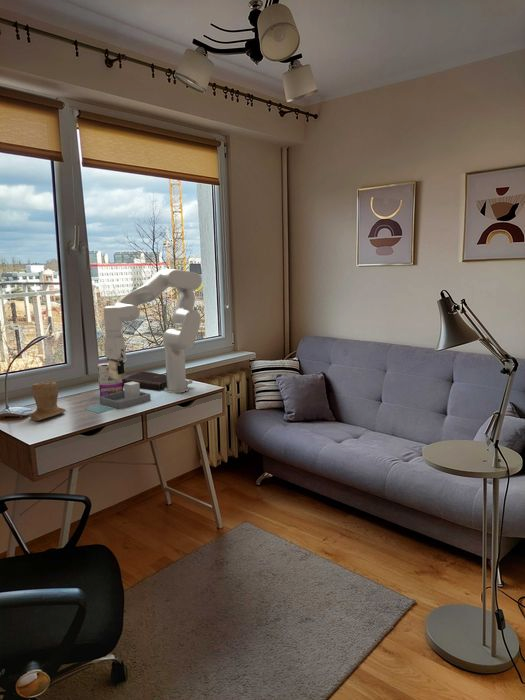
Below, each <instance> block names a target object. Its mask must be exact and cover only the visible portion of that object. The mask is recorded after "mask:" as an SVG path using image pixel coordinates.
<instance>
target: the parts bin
mask: <svg viewBox="0 0 525 700" xmlns="http://www.w3.org/2000/svg"><path fill="white" fill-rule="evenodd" d="M151 400H152V397H151V393H148V392H146V391H145V392H144V391H141V390H140V396H139V397H136V398H132V399H128V400H125V393H124V390H123V391H121V392H117V393H114V394H110V395H106V396H102V397H100V396H99V405H103V406H107V407H110V408H113V409H116V410H122V409H125V408H128V407H133V406H135V405H140V404H142V403H145V402H149V401H151Z"/></svg>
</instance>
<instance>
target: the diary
mask: <svg viewBox="0 0 525 700" xmlns="http://www.w3.org/2000/svg"><path fill="white" fill-rule="evenodd" d="M132 381H133V382H137V383H139V386H140V389H144V390H149V391H151V390H152V391H158V392H160V391H162V390H161V389H163V390H164V388H165V387H167V378H166V374H162V373H156V372H151V371H145V370H144V371H142V370H140V371H139V372H135V373H131V374H130V375H127V376H126V377H124V378H123V386H124V383H128V382H132Z"/></svg>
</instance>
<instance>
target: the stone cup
mask: <svg viewBox="0 0 525 700" xmlns="http://www.w3.org/2000/svg"><path fill="white" fill-rule="evenodd" d="M31 395H32V396H33V399H34V401H35V406H36V409H35V411H33V412H31V413H29V414H28V417H29V418H30V419H31V420H32V421H34V422H38V421H42V420H43V421H44V420H45V419H49V418H52V417H55V416H58V415H60V414H63V413H65V412H66V411H67V410H66V409H65V408H62V407H59V406H58V404H57V403H58V397H59V388H58V384H57V382H56V381H42V382H37V383H33V384H32V386H31Z"/></svg>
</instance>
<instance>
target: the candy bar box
mask: <svg viewBox="0 0 525 700" xmlns="http://www.w3.org/2000/svg"><path fill="white" fill-rule="evenodd" d="M96 364H97V366H96V367H97V376H98V377H97V378H98V379H97V380H98V387H99V388H98V389H99V392H98V393H99V398H100V397H102V396H106V395H110V394H114V393H117V392H121V391H124V387H123V378H120V379H113V378H110V375H109V363H108V362H102V363H96Z"/></svg>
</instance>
